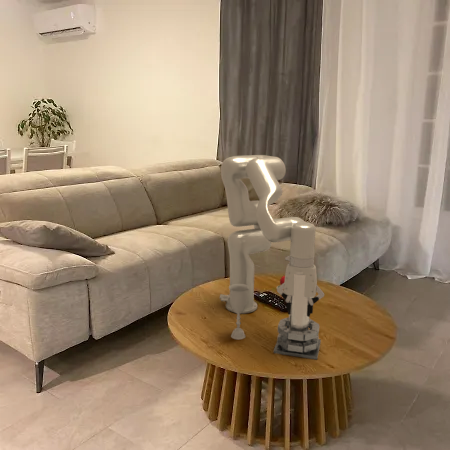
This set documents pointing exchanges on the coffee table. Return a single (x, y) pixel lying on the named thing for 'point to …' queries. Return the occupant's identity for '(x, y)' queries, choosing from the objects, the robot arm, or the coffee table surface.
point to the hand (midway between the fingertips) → (299, 313)
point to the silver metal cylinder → (299, 307)
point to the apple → (281, 282)
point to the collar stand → (298, 349)
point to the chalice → (238, 306)
